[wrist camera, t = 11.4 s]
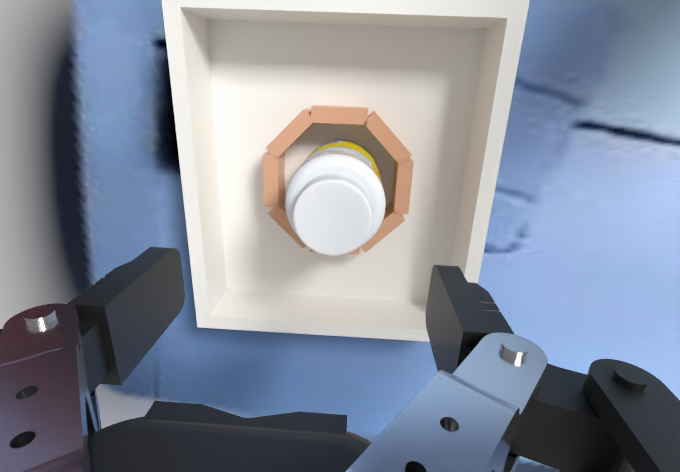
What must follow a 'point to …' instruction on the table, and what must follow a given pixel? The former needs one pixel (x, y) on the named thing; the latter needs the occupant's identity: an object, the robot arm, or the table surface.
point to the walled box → (328, 125)
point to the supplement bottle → (336, 198)
